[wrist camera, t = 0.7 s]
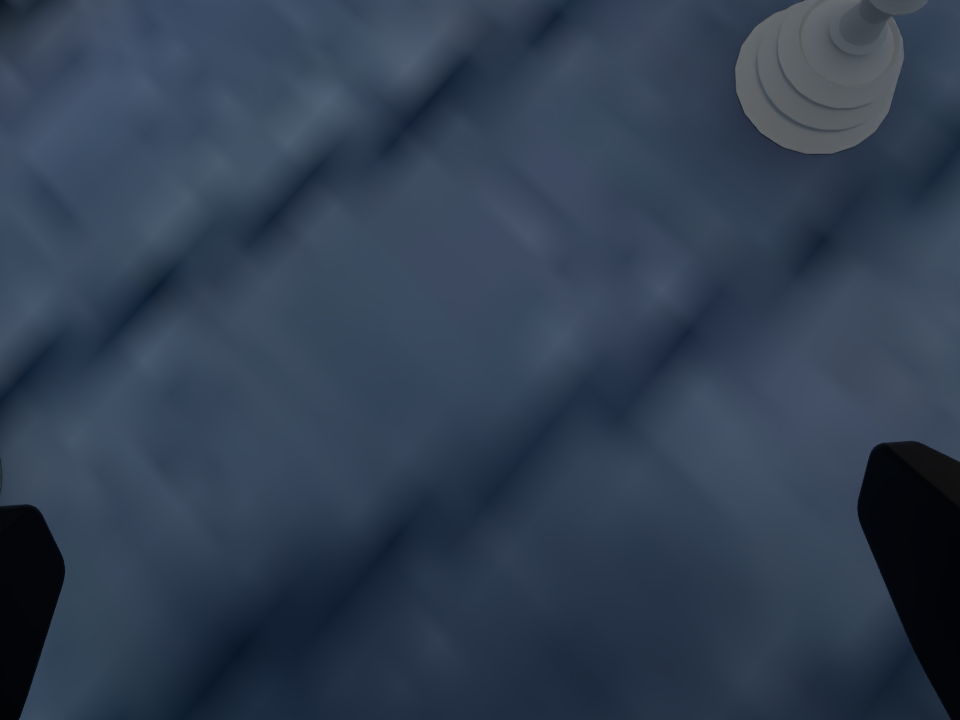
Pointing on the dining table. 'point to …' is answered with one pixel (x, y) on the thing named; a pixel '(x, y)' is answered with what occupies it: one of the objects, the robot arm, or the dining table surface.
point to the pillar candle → (0, 475)
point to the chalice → (822, 72)
